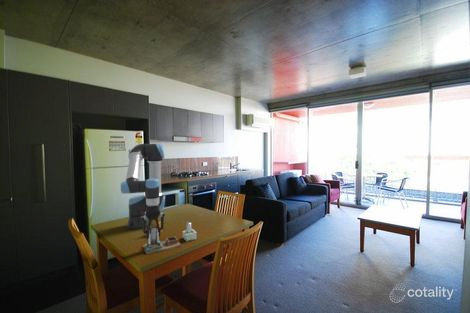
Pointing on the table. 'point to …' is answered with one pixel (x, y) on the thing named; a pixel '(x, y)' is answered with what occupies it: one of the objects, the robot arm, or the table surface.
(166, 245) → the mount
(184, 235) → the tray
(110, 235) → the table surface
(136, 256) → the table surface
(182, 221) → the table surface
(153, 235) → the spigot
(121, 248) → the table surface
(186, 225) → the pin
